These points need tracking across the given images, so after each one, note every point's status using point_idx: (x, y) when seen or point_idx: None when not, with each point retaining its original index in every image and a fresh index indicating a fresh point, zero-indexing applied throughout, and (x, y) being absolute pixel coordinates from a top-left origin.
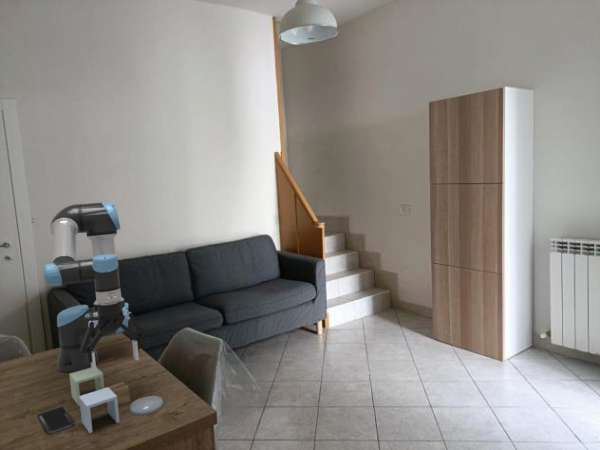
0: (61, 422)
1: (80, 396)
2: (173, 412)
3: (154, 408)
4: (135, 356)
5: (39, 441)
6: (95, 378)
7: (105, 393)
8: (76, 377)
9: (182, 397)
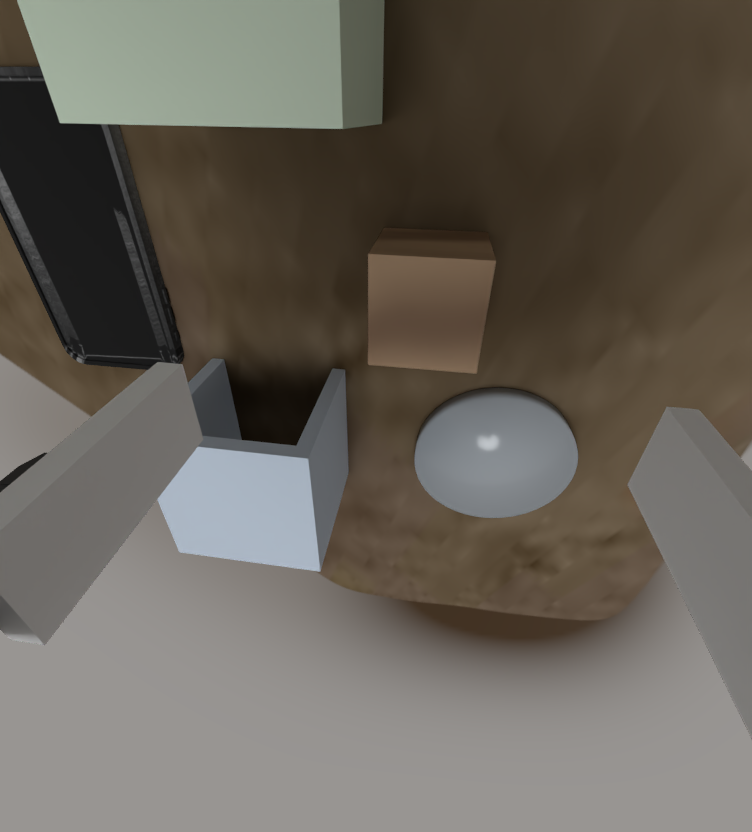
0: (116, 307)
1: None
2: (532, 551)
3: (489, 517)
4: (654, 496)
5: (58, 378)
6: None
7: (276, 513)
8: None
9: None
